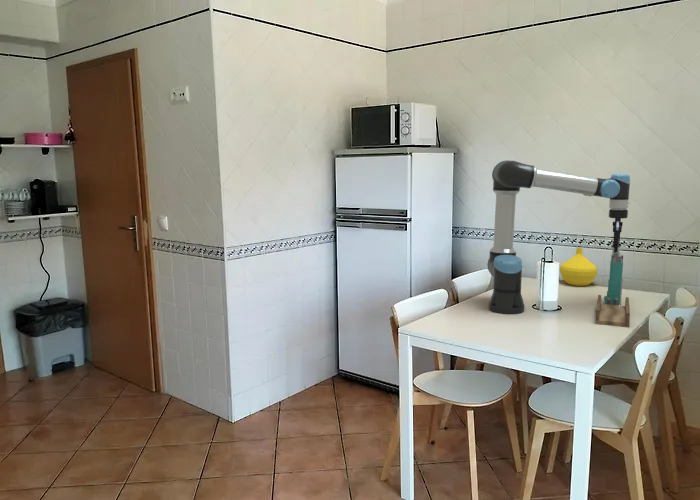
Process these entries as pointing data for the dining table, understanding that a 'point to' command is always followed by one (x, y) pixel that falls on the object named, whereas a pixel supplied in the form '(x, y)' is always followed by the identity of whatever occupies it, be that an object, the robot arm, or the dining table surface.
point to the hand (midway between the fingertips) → (615, 261)
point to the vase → (578, 270)
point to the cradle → (612, 314)
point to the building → (615, 280)
